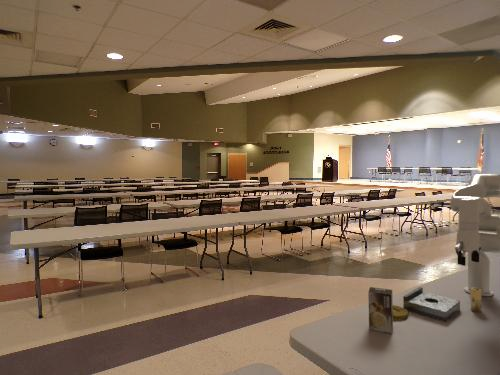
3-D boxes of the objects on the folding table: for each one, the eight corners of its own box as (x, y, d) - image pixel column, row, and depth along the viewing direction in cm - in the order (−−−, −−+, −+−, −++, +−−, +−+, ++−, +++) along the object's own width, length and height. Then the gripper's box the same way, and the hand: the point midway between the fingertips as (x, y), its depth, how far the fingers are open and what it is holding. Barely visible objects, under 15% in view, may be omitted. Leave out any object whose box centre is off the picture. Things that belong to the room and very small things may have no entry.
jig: (419, 299, 167) (419, 286, 167) (459, 310, 154) (460, 296, 153) (403, 309, 155) (403, 296, 155) (445, 322, 142) (445, 307, 141)
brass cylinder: (472, 307, 156) (472, 286, 155) (482, 310, 153) (482, 288, 152) (469, 310, 153) (469, 288, 153) (479, 312, 150) (479, 291, 150)
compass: (388, 307, 159) (388, 302, 159) (413, 315, 150) (413, 310, 150) (373, 314, 152) (373, 309, 152) (398, 323, 143) (398, 318, 142)
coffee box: (393, 327, 138) (393, 289, 138) (392, 334, 133) (392, 294, 132) (370, 323, 143) (370, 286, 142) (368, 329, 137) (368, 291, 136)
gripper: (472, 222, 156) (472, 258, 157) (447, 226, 149) (447, 264, 150) (489, 225, 149) (489, 262, 150) (464, 229, 142) (464, 268, 143)
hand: (468, 263), depth 150 cm, fingers open, 9 cm apart
